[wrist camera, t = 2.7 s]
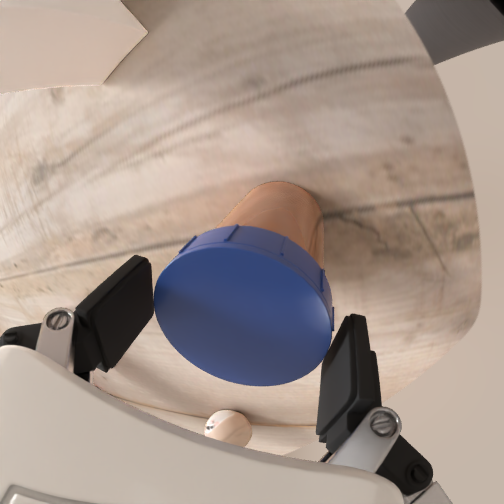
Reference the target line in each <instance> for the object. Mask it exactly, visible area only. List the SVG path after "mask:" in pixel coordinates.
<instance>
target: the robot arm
mask: <svg viewBox="0 0 504 504" xmlns="http://www.w3.org/2000/svg"><path fill="white" fill-rule="evenodd" d="M153 314H154V301H153V287H152V269H151V263H149V261H148V259H147V258H145V257H141V256H138V255H134V256H133V257H131V258H130V259H129V260H128V261H127V262H126V263H124V264H123V265H122V266H121V267H120V268H119V269H117V270H116V271H115V272H114V273H113V274H112V275H111V276H109V277H108V278H107V279H106V280H105V281H104V282H103V283H102V284H101V285H99V286H98V287H97V288H96V289H95V290H94V291H93V292H92V293H91V294H90V295H88V296H87V297H86V298H85V299H84V300H83V301H82V302H81V303H80V304H79V305H78V306H77V307H76V310H75V311H74V312H72V311H71V310H70V309H67V308H62V307H60V308H55V309H53V310H51V311H49V312H48V313H47V314H46V315H45V317H44V319H43V322H42V323H38V324H32V325H25V326H19V327H13V328H10V329H8V330H6V331H5V332H4V333H3V334H2V336H1V338H0V504H452V502H451V501H450V499H449V498H448V496H447V495H446V494H445V492H444V491H443V489H442V488H441V486H440V485H439V484H438V483H437V481H436V482H433V481H432V477H433V469H432V467H431V464H430V463H429V462H428V461H427V460H426V459H425V458H424V457H423V456H422V455H421V454H420V453H419V452H418V451H417V450H416V449H414V448H413V447H412V446H411V445H410V444H409V443H408V442H407V441H406V440H405V439H404V438H403V437H402V436H401V435H400V432H401V428H402V425H401V420H400V418H399V416H398V415H397V413H396V412H394V411H393V410H392V409H390V408H388V407H383V406H382V404H381V392H380V382H379V373H378V365H377V357H376V353H375V352H374V351H371V350H370V344H369V336H368V329H367V323H366V318H365V316H362V315H357V314H353V313H352V314H351V315H350V316H346V317H345V318H344V320H343V322H342V324H341V326H340V328H339V330H338V332H337V334H336V336H335V338H334V340H333V342H332V344H331V346H330V348H329V350H328V352H327V354H326V356H325V357H324V360H323V363H322V369H321V383H320V396H319V407H318V417H317V426H316V435H320V436H319V442H323V443H326V448H327V449H328V452H327V453H326V454H325V455H324V456H323V457H322V458H321V459H320V460H319V461H318V462H316V461H309V460H302V459H296V458H290V457H285V456H280V455H275V454H270V453H266V452H261V451H257V450H253V449H248V448H245V447H241V446H237V445H233V444H230V443H226V442H223V441H220V440H216V439H213V438H210V437H207V436H204V435H201V434H198V433H195V432H192V431H190V430H187V429H184V428H182V427H179V426H176V425H174V424H171V423H169V422H166V421H164V420H162V419H159V418H157V417H155V416H152V415H150V414H148V413H146V412H144V411H141V410H139V409H137V408H135V407H133V406H131V405H129V404H127V403H125V402H123V401H121V400H119V399H117V398H115V397H113V396H111V395H110V394H108V393H106V392H104V391H102V390H101V389H99V388H97V387H95V386H94V385H93V374H94V370H95V369H96V367H97V368H98V369H100V370H102V371H104V372H106V373H107V372H108V370H109V369H110V368H114V367H115V365H116V364H117V363H118V361H119V360H120V359H121V357H122V356H123V355H124V353H125V352H126V351H127V349H128V348H129V347H130V345H131V344H132V343H133V341H134V340H135V339H136V337H137V336H138V335H139V333H140V332H141V331H142V329H143V328H144V327H145V326H146V324H147V323H148V322H149V320H150V319H151V318H152V316H153Z"/></svg>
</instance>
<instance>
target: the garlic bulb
mask: <svg viewBox="0 0 504 504" xmlns="http://www.w3.org/2000/svg"><path fill="white" fill-rule="evenodd" d="M204 433H205V434H204V436H207V437H210V438H213V439H216V440H220V441H223V442H226V443H230V444H233V445H237V446H241V447H244V446H246V445H247V444H248V442H249V441H250V439H251V437H252V428H251V426H250V424H249V422H248V420H247V419H246V417H245V416H244V415H243V414H241V413H239V412H235V411H232V410H221V411H218V412H216V413H214V414H213V415H212V416H211V417H210V418H209V420H208V421H207V423H206V425H205V432H204Z"/></svg>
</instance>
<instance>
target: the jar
mask: <svg viewBox="0 0 504 504" xmlns="http://www.w3.org/2000/svg"><path fill="white" fill-rule="evenodd" d="M235 224H239V226H252V227H258V228H263V229H266V230H269V231H273V232H276V233H278V234H280V235H282V236H284V237H286V236H288V237H289V238H288V239H290V240H291V241H293V242H295V243H296V244H298V245H299V246H300V247H302V248H303V249H304V250H305V251H307V252H308V253H309V254H310V255H311V256H312V257H313V259H314V260H315V261H316V262H317V263H318V265H319V266H320V267H321V269H323V268H324V222H323V216H322V212H321V209H320V207H319V205H318V203H317V202H316V201H315V199H314V198H313V197H312V196H311V195H310V194H309V193H308V192H307V191H306V190H304V189H302V188H301V187H299V186H297V185H295V184H291V183H288V182H280V181H275V182H268V183H264V184H261V185H259V186H257V187H255V188H254V189H252V190H251V191H250V192H249V193H248V194H247V195H246V196H245V197H244V198H243V199H242V200H241V201H240V202H239V203H238V204H237V205H236V206H235V207H234V208H233V210H232V211H231V212H230V213H229V214H228V215H227V216H226V217H225V218H224V219H223V220H222V221H221V222H220V224H219V225H218V226H217V227H216V228H220V227H225V226H234V225H235ZM216 228H215V229H216Z"/></svg>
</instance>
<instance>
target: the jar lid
mask: <svg viewBox="0 0 504 504" xmlns="http://www.w3.org/2000/svg"><path fill="white" fill-rule="evenodd" d="M288 238H289V237H288V236H286V237H284V236H282V235H280V234H278V233H276V232H273V231H269V230H266V229H263V228H258V227H252V226H239V224H235V225H234V226H225V227H220V228H216V229H213V230H210V231H207V232H205V233H203V234H201V235H199V236H198V237H196V236H194V237H193V238H192V239H191V240H190V241H189V242H188V243H187V244H186V245H185V246H184V247H183V248H182V249H181V250H180V251H179V254H178V255H177V256H176V257H175V258H174V259H173V260H172V261H171V262H170V263H169V264H168V265H167V266H166V268H165V269H164V270H163V271H162V273H161V274H160V276H159V278H158V280H157V283H156V286H155V290H154V309H155V314H156V317H157V321H158V323H159V325H160V327H161V330H162V331H163V333H164V335H165V336H166V338H167V339H168V340H169V342H170V343H171V344H172V346H173V347H174V348H175V349H176V350H177V351H178V352H179V353H180V354H181V355H182V356H183V357H184V358H186V359H187V360H188V361H190V362H191V363H192V364H194V365H195V366H197V367H198V368H200V369H201V370H203V371H205V372H207V373H209V374H211V375H213V376H215V377H218V378H220V379H223V380H226V381H229V382H233V383H237V384H243V385H249V386H275V385H281V384H285V383H289V382H292V381H295V380H297V379H300V378H302V377H303V376H305V375H307V374H309V373H310V372H311V371H312V370H314V369H315V368H316V367H317V366H318V365H319V364H320V363H321V362H322V360H323V359H324V357H325V356H326V354H327V352H328V349H329V347H330V343H331V339H332V331H334V307H332V295H331V289H330V286H329V283H328V280H327V278H326V276H325V270H324V268H323V269H321V267H320V266H319V265H318V263H317V262H316V261H315V260H314V259H313V257H312V256H311V255H310V254H309V253H308V252H307V251H305V250H304V249H303V248H302V247H300V246H299V245H298V244H296V243H295V242H293V241H291V240H290V239H288Z"/></svg>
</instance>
